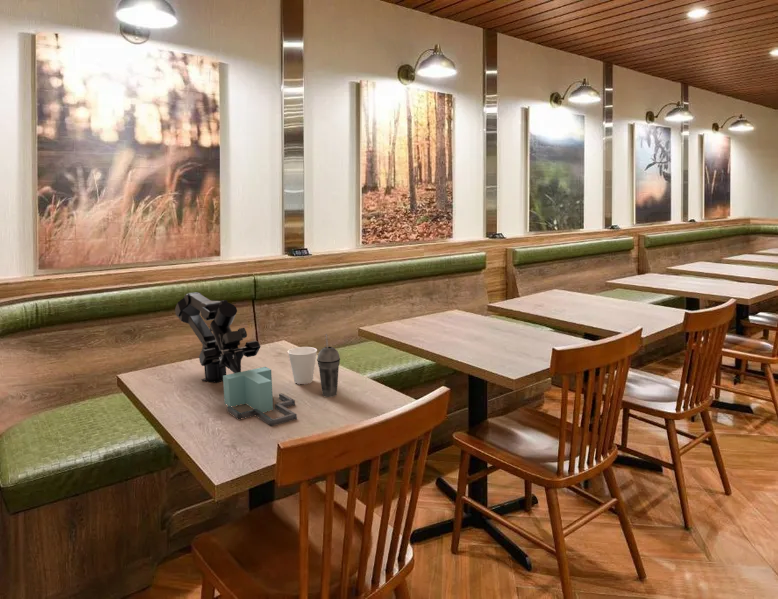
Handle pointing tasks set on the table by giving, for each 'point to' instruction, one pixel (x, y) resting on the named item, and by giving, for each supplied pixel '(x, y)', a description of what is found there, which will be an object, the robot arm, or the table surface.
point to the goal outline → (279, 406)
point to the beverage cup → (328, 370)
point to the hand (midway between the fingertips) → (239, 375)
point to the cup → (302, 364)
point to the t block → (249, 389)
